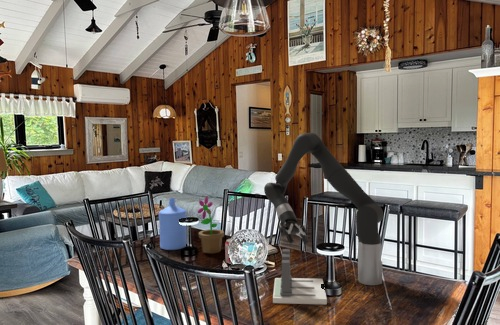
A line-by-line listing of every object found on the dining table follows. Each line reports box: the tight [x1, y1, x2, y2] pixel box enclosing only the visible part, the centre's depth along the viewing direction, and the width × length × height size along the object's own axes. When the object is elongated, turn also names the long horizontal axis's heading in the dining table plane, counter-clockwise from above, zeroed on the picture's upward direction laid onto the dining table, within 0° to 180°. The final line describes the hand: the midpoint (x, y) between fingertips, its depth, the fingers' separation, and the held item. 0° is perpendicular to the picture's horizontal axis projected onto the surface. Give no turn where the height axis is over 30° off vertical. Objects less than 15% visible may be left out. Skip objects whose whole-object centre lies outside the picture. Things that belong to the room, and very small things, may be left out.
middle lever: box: [281, 253, 292, 288], centre depth 150 cm, size 4×4×12 cm
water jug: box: [158, 198, 188, 251], centre depth 218 cm, size 16×16×28 cm
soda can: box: [224, 238, 231, 264], centre depth 186 cm, size 7×7×12 cm
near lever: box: [280, 259, 292, 296], centre depth 143 cm, size 4×4×12 cm
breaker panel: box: [272, 277, 328, 305], centre depth 150 cm, size 20×20×2 cm
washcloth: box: [267, 244, 278, 256], centre depth 207 cm, size 12×18×3 cm, turn 40°
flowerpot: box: [197, 196, 225, 254], centre depth 208 cm, size 14×14×30 cm
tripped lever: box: [280, 248, 293, 281], centre depth 157 cm, size 4×4×12 cm
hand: (299, 243), depth 168 cm, fingers open, 8 cm apart
